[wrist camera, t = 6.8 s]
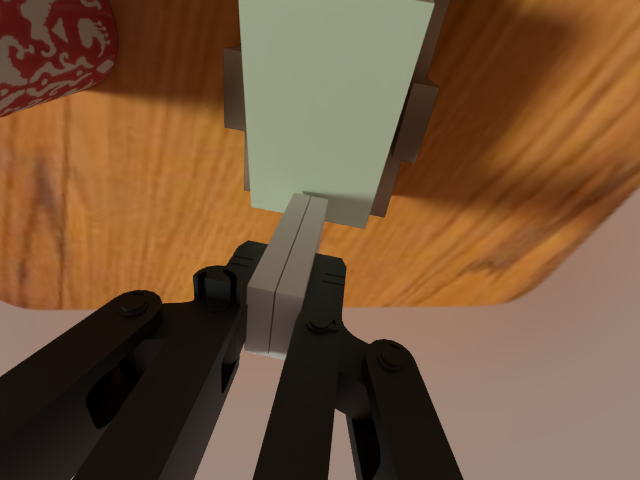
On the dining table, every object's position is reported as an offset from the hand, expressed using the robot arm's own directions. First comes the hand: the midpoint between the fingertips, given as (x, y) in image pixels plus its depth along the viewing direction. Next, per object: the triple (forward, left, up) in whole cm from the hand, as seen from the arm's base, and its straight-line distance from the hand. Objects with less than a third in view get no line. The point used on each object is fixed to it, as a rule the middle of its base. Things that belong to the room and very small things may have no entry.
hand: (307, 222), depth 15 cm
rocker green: (-5, 0, -2) cm, 5 cm away
